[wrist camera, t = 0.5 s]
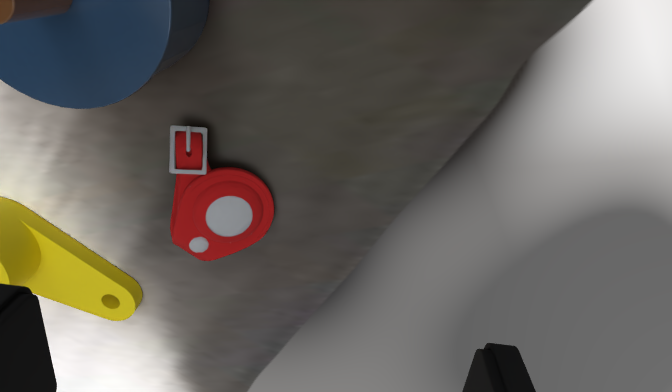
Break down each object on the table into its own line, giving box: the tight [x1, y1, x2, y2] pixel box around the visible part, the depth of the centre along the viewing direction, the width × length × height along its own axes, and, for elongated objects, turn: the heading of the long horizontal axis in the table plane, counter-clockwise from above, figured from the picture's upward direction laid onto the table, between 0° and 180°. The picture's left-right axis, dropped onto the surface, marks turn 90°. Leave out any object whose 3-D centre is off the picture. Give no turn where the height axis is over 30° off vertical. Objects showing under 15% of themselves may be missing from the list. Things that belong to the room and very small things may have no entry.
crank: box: [0, 197, 143, 321], centre depth 43 cm, size 18×8×6 cm, turn 57°
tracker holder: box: [169, 125, 274, 261], centre depth 40 cm, size 12×4×10 cm
